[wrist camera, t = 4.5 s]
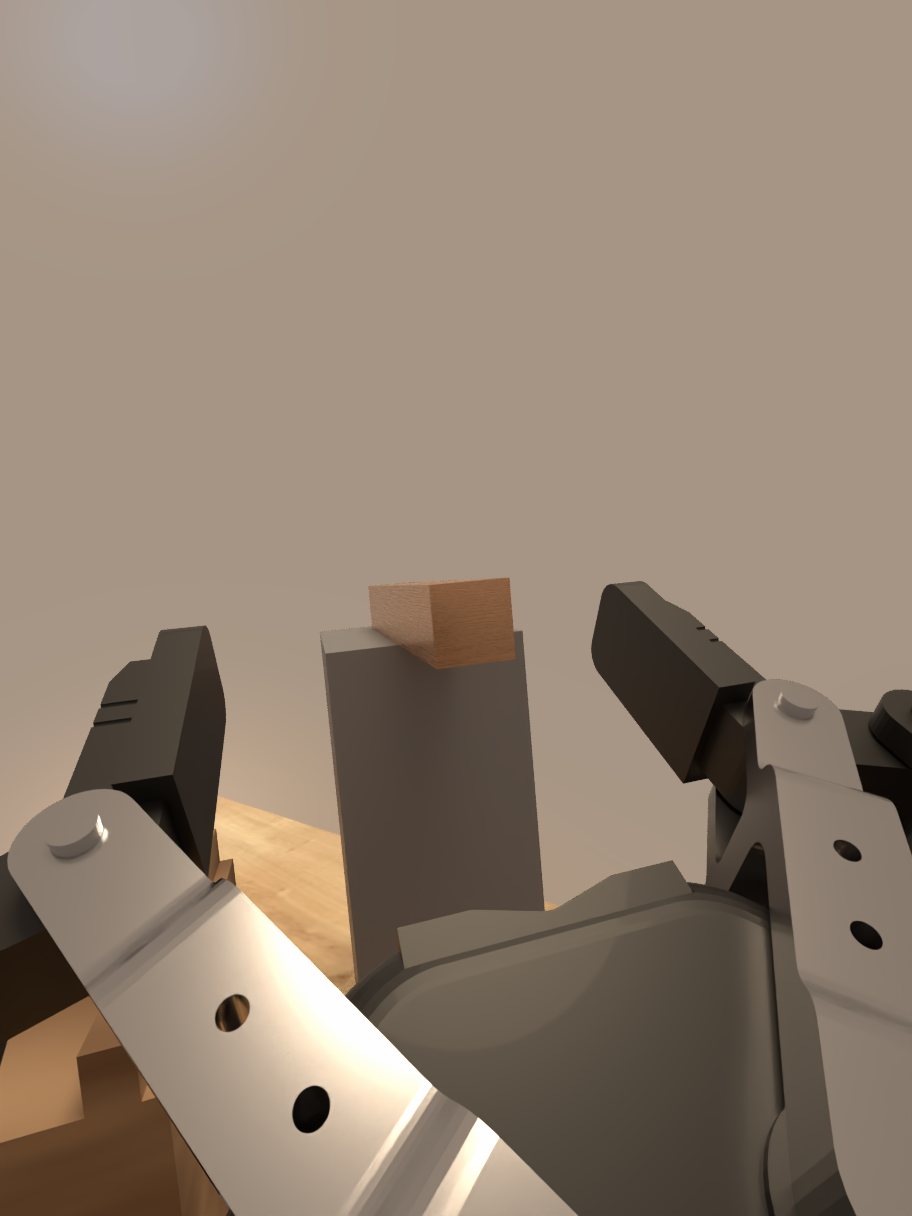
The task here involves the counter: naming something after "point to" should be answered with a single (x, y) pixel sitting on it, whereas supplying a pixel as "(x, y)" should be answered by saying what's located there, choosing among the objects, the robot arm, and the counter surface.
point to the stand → (428, 787)
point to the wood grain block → (92, 1124)
